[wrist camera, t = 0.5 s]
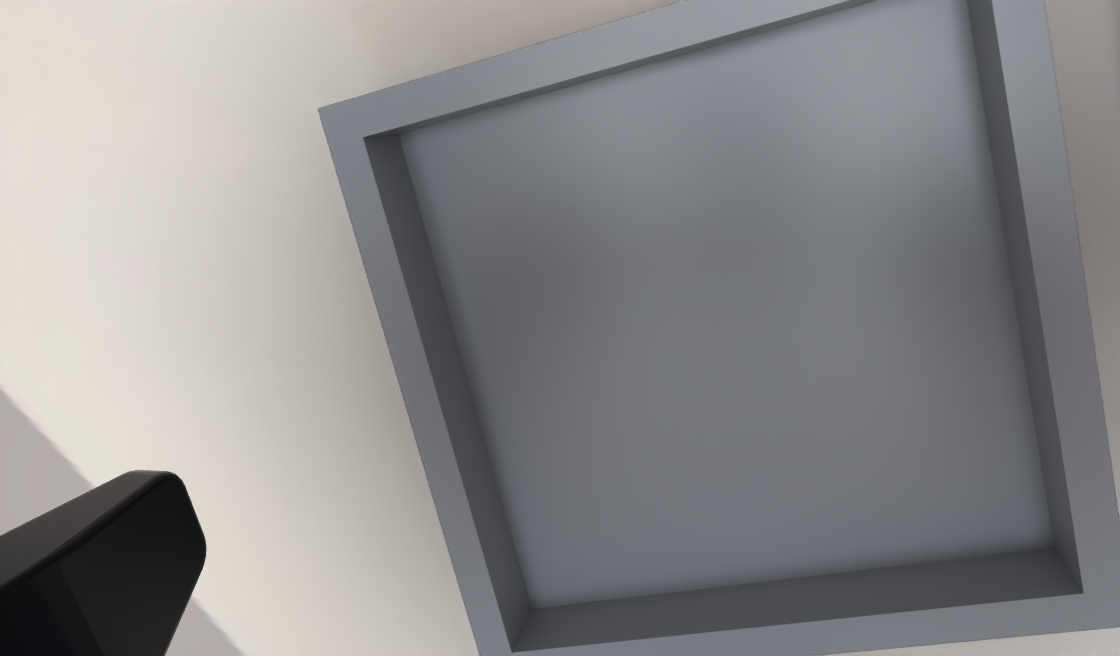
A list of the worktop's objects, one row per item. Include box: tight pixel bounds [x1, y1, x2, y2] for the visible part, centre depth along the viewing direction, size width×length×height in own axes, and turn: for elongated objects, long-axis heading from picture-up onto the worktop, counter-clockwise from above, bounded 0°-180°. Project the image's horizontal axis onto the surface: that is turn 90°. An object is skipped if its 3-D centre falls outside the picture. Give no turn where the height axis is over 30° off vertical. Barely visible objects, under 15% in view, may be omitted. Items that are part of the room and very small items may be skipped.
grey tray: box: [318, 0, 1120, 656], centre depth 19 cm, size 14×14×2 cm
